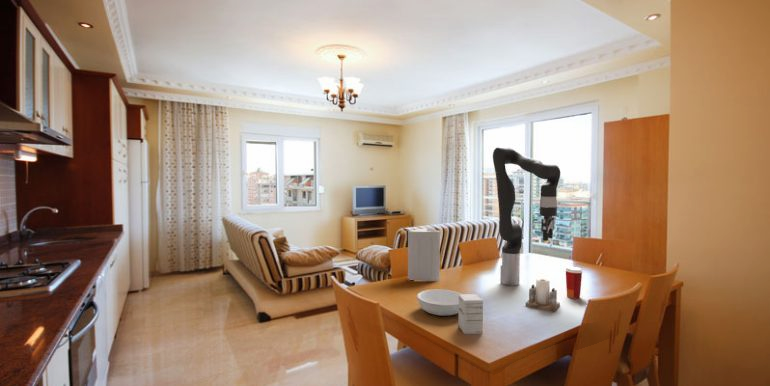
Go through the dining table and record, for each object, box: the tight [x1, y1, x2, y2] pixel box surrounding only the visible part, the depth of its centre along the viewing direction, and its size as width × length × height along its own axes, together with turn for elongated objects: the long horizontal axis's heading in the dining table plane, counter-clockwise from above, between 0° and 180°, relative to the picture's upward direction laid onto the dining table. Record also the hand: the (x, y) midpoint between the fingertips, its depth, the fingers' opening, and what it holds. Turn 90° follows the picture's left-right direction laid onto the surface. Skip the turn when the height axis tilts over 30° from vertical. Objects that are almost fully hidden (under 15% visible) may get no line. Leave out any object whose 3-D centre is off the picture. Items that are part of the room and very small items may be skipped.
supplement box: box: [457, 293, 484, 335], centre depth 137 cm, size 7×7×13 cm
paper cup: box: [564, 266, 584, 300], centre depth 177 cm, size 8×8×14 cm
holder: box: [525, 284, 561, 313], centre depth 164 cm, size 12×10×9 cm
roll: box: [535, 278, 551, 305], centre depth 164 cm, size 6×6×10 cm
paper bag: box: [407, 227, 441, 282], centre depth 210 cm, size 19×15×28 cm
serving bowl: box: [417, 288, 463, 317], centre depth 156 cm, size 21×21×7 cm
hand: (547, 239), depth 176 cm, fingers open, 8 cm apart
